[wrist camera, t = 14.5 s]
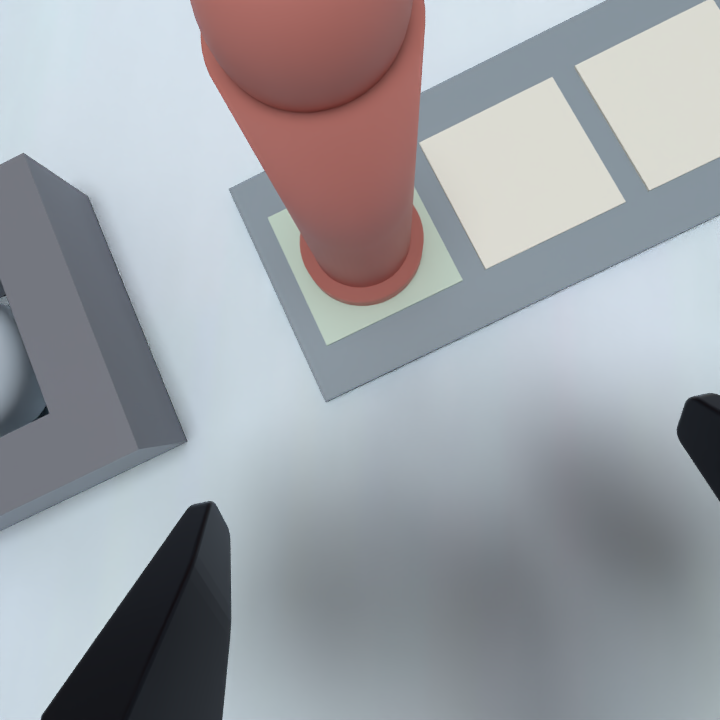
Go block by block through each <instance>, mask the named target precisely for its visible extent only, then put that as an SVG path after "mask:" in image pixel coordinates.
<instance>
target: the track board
mask: <svg viewBox="0 0 720 720" xmlns="http://www.w3.org/2000/svg"><path fill="white" fill-rule="evenodd" d="M229 191H230V193H231V195H232V197H233V199H234V202H235V204H236V206H237V208H238V210H239V213H240V215H241V217H242V219H243V221H244V224H245V226H246V228H247V230H248V232H249V235H250V237H251V239H252V241H253V243H254V246H255V248H256V250H257V252H258V254H259V257H260V259H261V261H262V263H263V265H264V268H265V270H266V272H267V274H268V276H269V279H270V281H271V283H272V285H273V287H274V290H275V292H276V294H277V296H278V298H279V301H280V303H281V305H282V307H283V309H284V312H285V314H286V316H287V318H288V320H289V323H290V325H291V327H292V329H293V331H294V334H295V336H296V338H297V340H298V342H299V345H300V347H301V349H302V351H303V353H304V356H305V358H306V360H307V362H308V364H309V367H310V369H311V371H312V373H313V375H314V378H315V380H316V382H317V384H318V386H319V389H320V391H321V393H322V395H323V397H324V400H325V402H327V401H329V400H332V399H334V398H336V397H338V396H340V395H342V394H344V393H346V392H348V391H351V390H353V389H355V388H357V387H359V386H361V385H363V384H365V383H367V382H369V381H372V380H374V379H376V378H378V377H380V376H382V375H384V374H386V373H388V372H390V371H393V370H395V369H397V368H399V367H401V366H403V365H405V364H407V363H409V362H411V361H414V360H416V359H418V358H420V357H422V356H424V355H426V354H428V353H430V352H432V351H435V350H437V349H439V348H441V347H443V346H445V345H447V344H449V343H451V342H454V341H456V340H458V339H460V338H462V337H464V336H466V335H468V334H470V333H472V332H475V331H477V330H479V329H481V328H483V327H485V326H487V325H489V324H491V323H493V322H496V321H498V320H500V319H502V318H504V317H506V316H508V315H510V314H512V313H514V312H517V311H519V310H521V309H523V308H525V307H527V306H529V305H531V304H533V303H535V302H538V301H540V300H542V299H544V298H546V297H548V296H550V295H552V294H554V293H557V292H559V291H561V290H563V289H565V288H567V287H569V286H571V285H573V284H575V283H578V282H580V281H582V280H584V279H586V278H588V277H590V276H592V275H594V274H596V273H599V272H601V271H603V270H605V269H607V268H609V267H611V266H613V265H615V264H617V263H620V262H622V261H624V260H626V259H628V258H630V257H632V256H634V255H636V254H638V253H641V252H643V251H645V250H647V249H649V248H651V247H653V246H655V245H657V244H660V243H662V242H664V241H666V240H668V239H670V238H672V237H674V236H676V235H678V234H681V233H683V232H685V231H687V230H689V229H691V228H693V227H695V226H697V225H699V224H702V223H704V222H706V221H708V220H710V219H712V218H714V217H716V216H718V215H720V0H606V1H604V2H602V3H600V4H598V5H596V6H594V7H592V8H590V9H588V10H586V11H584V12H582V13H580V14H578V15H576V16H574V17H572V18H570V19H568V20H566V21H564V22H562V23H560V24H558V25H556V26H554V27H552V28H550V29H548V30H546V31H544V32H542V33H540V34H538V35H536V36H534V37H532V38H530V39H528V40H526V41H524V42H522V43H520V44H518V45H516V46H514V47H512V48H510V49H508V50H506V51H504V52H502V53H500V54H498V55H496V56H494V57H492V58H490V59H488V60H486V61H484V62H482V63H480V64H478V65H476V66H474V67H472V68H470V69H468V70H466V71H464V72H462V73H460V74H458V75H456V76H454V77H452V78H450V79H448V80H446V81H444V82H442V83H440V84H438V85H436V86H434V87H432V88H430V89H428V90H426V91H424V92H422V93H420V107H419V122H418V137H417V151H416V166H415V181H414V196H413V205H414V207H415V208H416V210H417V212H418V214H419V216H420V219H421V222H422V226H423V233H424V243H423V250H422V257H421V261H420V265H419V267H418V270H417V272H416V274H415V276H414V277H413V279H412V280H411V282H410V283H409V284H408V286H407V287H406V288H405V289H404V290H403V291H401V292H400V293H399V294H397V295H396V296H394V297H393V298H391V299H389V300H387V301H385V302H382V303H379V304H375V305H369V306H355V305H349V304H345V303H342V302H340V301H337V300H335V299H333V298H332V297H330V296H328V295H327V294H326V293H325V292H323V291H322V290H321V289H320V288H319V287H318V285H317V284H316V283H315V281H314V280H313V279H312V277H311V276H310V274H309V273H308V271H307V269H306V267H305V265H304V263H303V260H302V256H301V252H300V231H299V229H298V228H297V226H296V224H295V222H294V221H293V219H292V217H291V215H290V214H289V212H288V210H287V209H286V207H285V205H284V203H283V202H282V200H281V198H280V196H279V195H278V193H277V191H276V189H275V188H274V186H273V184H272V183H271V181H270V179H269V177H268V176H267V174H266V172H265V171H264V172H262V173H260V174H258V175H256V176H254V177H252V178H250V179H248V180H246V181H244V182H242V183H240V184H238V185H236V186H234V187H232V188H230V189H229Z"/></svg>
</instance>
